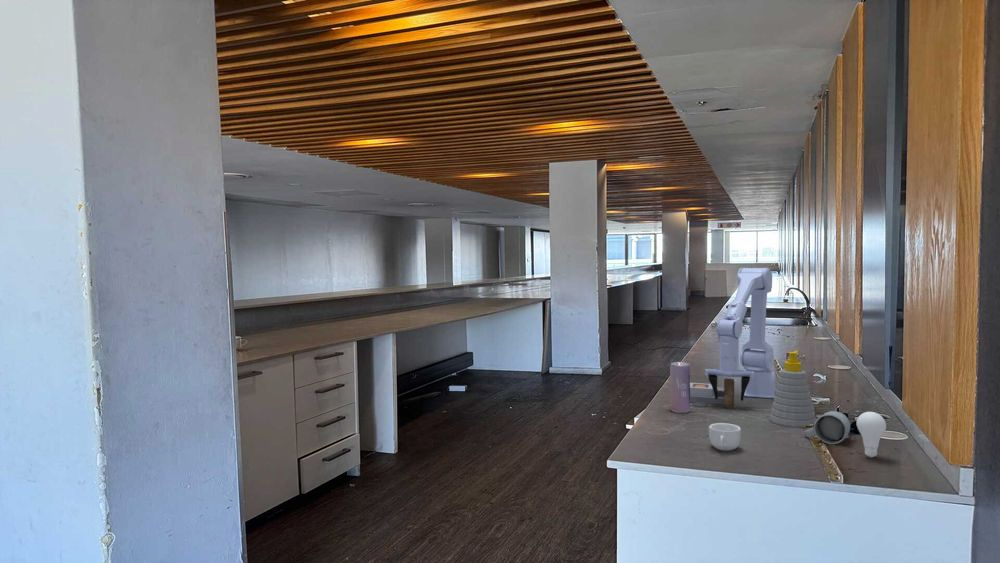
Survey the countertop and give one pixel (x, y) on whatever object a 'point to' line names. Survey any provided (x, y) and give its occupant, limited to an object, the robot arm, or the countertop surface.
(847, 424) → the ceramic mug
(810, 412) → the soap bottle
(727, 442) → the teacup
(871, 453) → the lightbulb
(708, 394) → the grey fixture with socket
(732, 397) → the dowel
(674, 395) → the beverage can
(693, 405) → the coaster
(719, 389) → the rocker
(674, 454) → the countertop surface
